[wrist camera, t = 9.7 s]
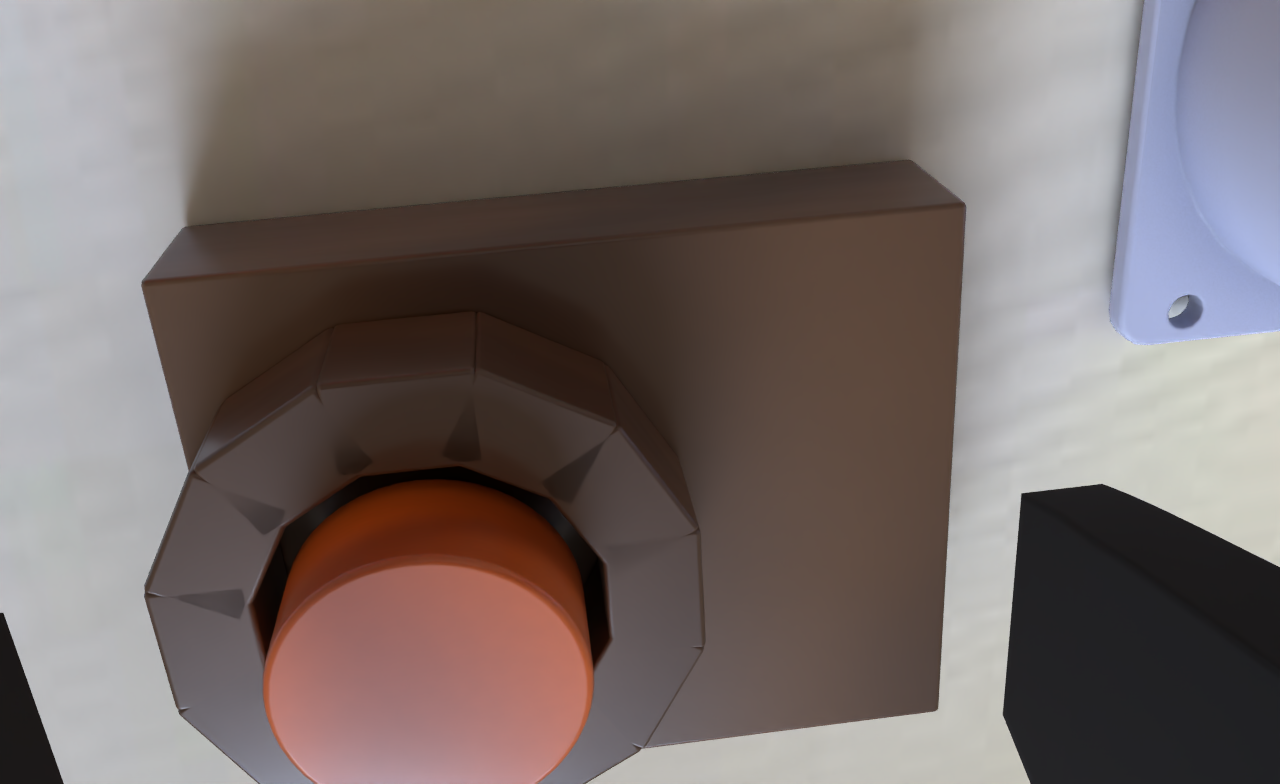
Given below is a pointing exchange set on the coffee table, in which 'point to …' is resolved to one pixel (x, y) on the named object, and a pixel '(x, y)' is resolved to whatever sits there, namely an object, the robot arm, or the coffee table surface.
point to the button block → (589, 433)
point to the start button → (430, 642)
